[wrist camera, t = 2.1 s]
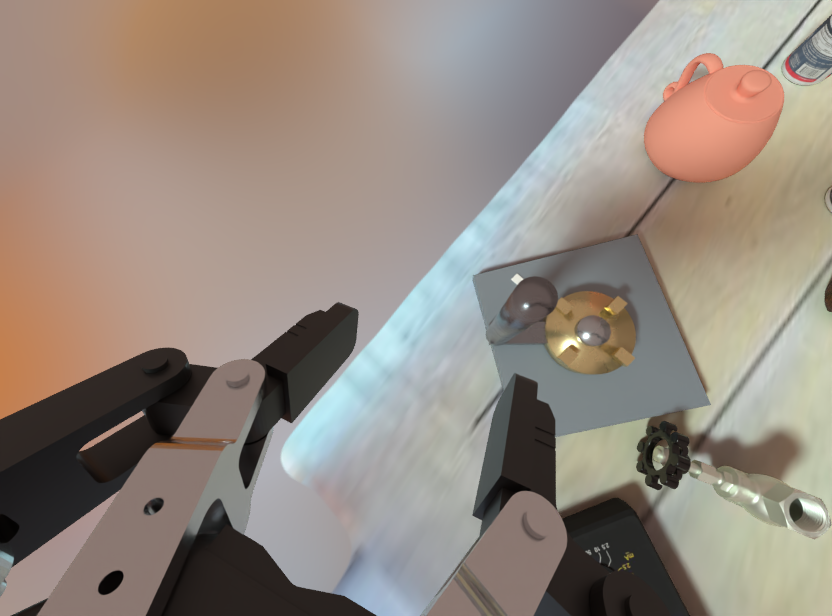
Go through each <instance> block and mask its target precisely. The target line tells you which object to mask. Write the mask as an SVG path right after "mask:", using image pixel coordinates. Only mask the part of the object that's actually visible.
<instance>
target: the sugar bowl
mask: <svg viewBox="0 0 832 616" xmlns="http://www.w3.org/2000/svg"><path fill="white" fill-rule="evenodd" d="M700 63H702V64H704V65H705V66H706V68H707V69H708V72H709V74H708V75H706V76H703V77H701V78H699V79H697V80H695V81H693V82H691V83H689V81H690V79H691V77H692V75H693V73H694V71H695V70H696V68H697V66H698V65H699V64H700ZM688 83H689V84H688ZM663 98H664V102H663V103H662V104H661V105H660V106H659V107H658V108H657V109H656V110H655V112H654V113H653V114H652V116H651V117H650V118H649V120H648V122H647V125H646V128H645V133H644V143H645V148H646V151H647V154H648V156H649V158H650V160H651V161H652V163H653V164H654V165H655V166H656V167H657V168H658V169H659V170H660V171H661V172H663V173H664V174H666V175H668V176H670V177H672V178H675V179H678V180H682V181H687V182H712V181H717V180H720V179H724V178H727V177H729V176H731V175H734V174H735V173H737V172H739V171H740V170H741V169H743V168H744V167H745V166H747V165H748V164H749V163H750V162H751V161H752V160H753V159H754V158H755V157H756V156H757V155H758V154H759V153H760V152H761V150H762V149H763V148H764V147H765V145H766V144H767V142H768V141H769V139H770V138H771V136H772V134H773V132H774V130H775V128H776V125H777V123H778V120H779V117H780V114H781V111H782V107H783V102H784V91H783V88H782V86H781V84H780V82H779V81H778V80H777V78H776V77H775V76H773V75H772V74H771V73H769V72H768V71H766V70H764V69H761V68H759V67H755V66H750V65H735V66H730V67H726V68H723V64H722V61H721V59H720V58H719V57H718V56H717V55H715V54H711V53H706V54H702V55H699V56H697V57H696V58H694V59H693V60H692V61H691V62H690V63H689V64H688V65H687V66H686V68H685V69H684V71H683V73H682V75H681V77H680V79H679V81H678V82H673V83H671V84H669V85H668V86H667V87H666V88H665V90H664V92H663Z"/></svg>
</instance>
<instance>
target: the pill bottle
mask: <svg viewBox="0 0 832 616" xmlns="http://www.w3.org/2000/svg"><path fill="white" fill-rule="evenodd" d="M782 72H783V75H784V76H785V77H786V78H787V79H788V80H789V81H790V82H792V83H795V84H798V85H814V84H817V83H819V82H821V81H823V80H825V79H826V78H827V77H829V76H830V75H831V74H832V15H831V16H830V17H829V18H828V19H827V20H826V21H825V22H824V23H823V24H822V25H821V26H820V27H818V28H817V29H816V30H815V31H814V32H813V33H812V34H811V35H810V36H809V37H808V38H807V39H806V40H805V41H804V42H803V43H802V44H801V45H800V46H799V47H798V48H797V49H796V50H795V51H794V52H793V53H791V54H790V55H789V56H788V57H787V58H786V60H785V61H784V63H783V65H782Z"/></svg>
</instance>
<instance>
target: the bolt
mask: <svg viewBox="0 0 832 616" xmlns="http://www.w3.org/2000/svg"><path fill="white" fill-rule="evenodd" d="M825 305H826V308H827V310H828V311H829V312H832V282H831V283H830V284H829V286H828V287H827V289H826V291H825Z"/></svg>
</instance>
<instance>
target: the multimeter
mask: <svg viewBox="0 0 832 616" xmlns="http://www.w3.org/2000/svg"><path fill="white" fill-rule="evenodd" d="M562 520H563V522H564V525H565V528H566V531H567V532H568V534H569V535H570V536H571V538H572V539H573V540H574V541H575V542H576V543H577V544H578V545H579V546H580V547H581V548H582V549H583V550H584V551H585V552H587V553H588V554H589V555H590V556H591V557H592V558H593V559H595V560H596V561H597V562H598V563H599V564H600V565H602V566H603V567H604V568H605V569H606V570H607V571H608V572H610V573H611V572H614V571H619V570H622V571H627V572H629V573H632V574H634V575H636V576H637V577H639V578H640V579H642V580H643V581H644V582H646V583H647V584H648V585H649V586H650V587H651V588H652V589H653V590H654V591H655V592H656V594H657V595H658V596H659V597H660V599H661V600H662V601H663V603H664V604H665V606H666V607H667V609H668V611H669V613H670V615H671V616H690V615H689V613H688V611H687V609H686V607H685V605H684V603H683V602H682V600H681V598H680V596H679V594H678V592H677V590H676V588H675V586H674V584H673V582H672V580H671V579H670V577H669V575H668V573H667V571H666V569H665V567H664V565H663V563H662V561H661V559H660V557H659V556H658V554H657V552H656V550H655V548H654V546H653V544H652V542H651V540H650V538H649V536H648V534H647V533H646V531H645V529H644V527H643V525H642V523H641V521H640V519H639V517H638V515H637V513H636V512H635V511H634V510H633V509H632V508H631V507H630V506H629V505H628V504H627V503H626V502H624V501H622V500H621V499H619V498H613V499H611V500H608V501H606V502H603V503H601V504H598V505H596V506H593V507H591V508H588V509H586V510H583V511H581V512H578V513H576V514H573V515H571V516H568V517H566V518H563V519H562Z"/></svg>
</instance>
